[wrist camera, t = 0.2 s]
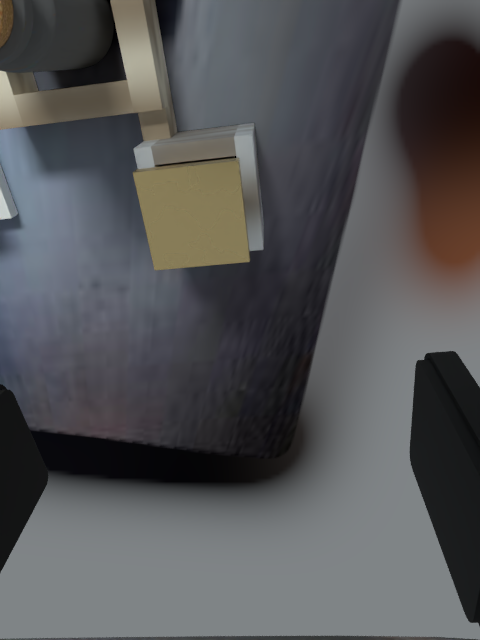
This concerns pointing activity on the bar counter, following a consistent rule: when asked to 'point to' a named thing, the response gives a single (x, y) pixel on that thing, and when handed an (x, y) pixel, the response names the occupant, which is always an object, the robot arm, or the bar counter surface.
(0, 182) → the cradle
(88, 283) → the bar counter surface
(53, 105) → the socket block
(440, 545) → the robot arm
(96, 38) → the bottle
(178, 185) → the button
